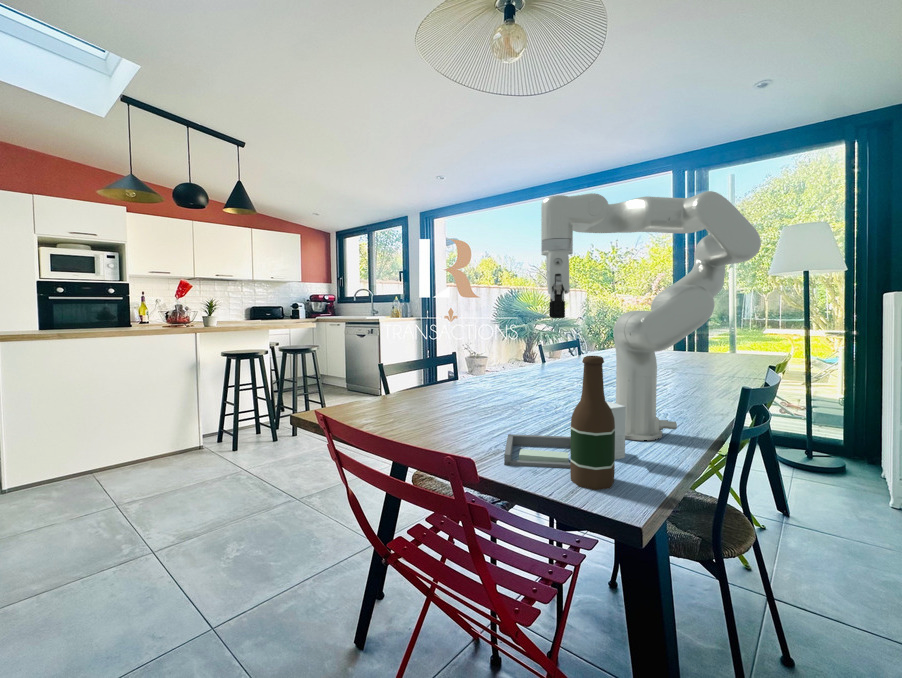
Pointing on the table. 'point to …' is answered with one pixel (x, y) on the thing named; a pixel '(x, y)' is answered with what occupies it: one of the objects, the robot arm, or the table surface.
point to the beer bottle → (593, 432)
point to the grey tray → (535, 441)
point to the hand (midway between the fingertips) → (556, 317)
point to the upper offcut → (543, 456)
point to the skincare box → (619, 428)
